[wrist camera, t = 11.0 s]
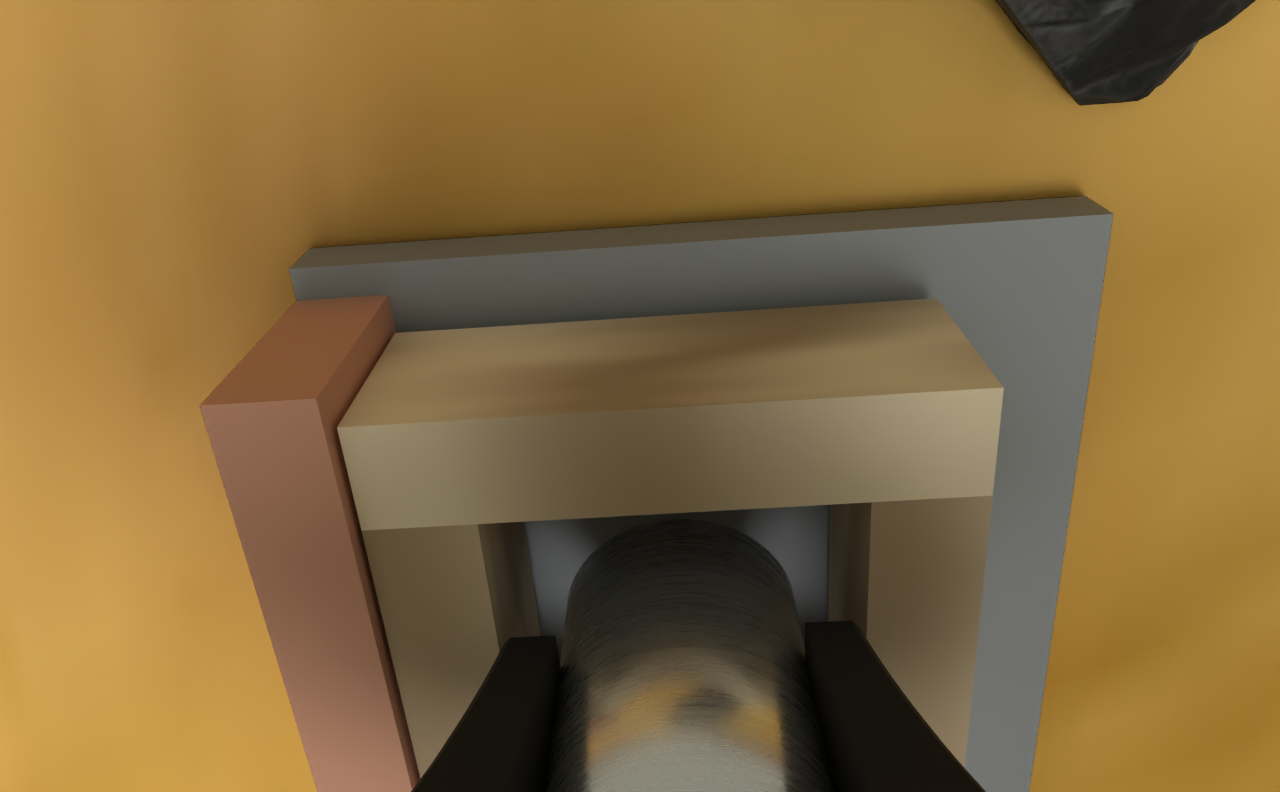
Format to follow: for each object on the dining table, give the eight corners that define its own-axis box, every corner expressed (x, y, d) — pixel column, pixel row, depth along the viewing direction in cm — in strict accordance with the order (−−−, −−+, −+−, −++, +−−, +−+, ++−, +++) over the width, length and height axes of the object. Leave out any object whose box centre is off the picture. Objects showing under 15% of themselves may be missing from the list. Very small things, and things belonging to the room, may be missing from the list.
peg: (775, 499, 14) (856, 890, 8) (810, 678, 15) (897, 1108, 10) (540, 542, 14) (472, 943, 9) (597, 713, 15) (569, 1144, 10)
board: (1085, 195, 15) (1249, 301, 11) (985, 954, 23) (1057, 1178, 19) (310, 248, 15) (187, 367, 11) (477, 973, 23) (440, 1195, 19)
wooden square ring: (937, 298, 14) (1003, 387, 11) (909, 710, 18) (955, 853, 15) (395, 332, 14) (337, 427, 12) (474, 731, 18) (443, 874, 15)
